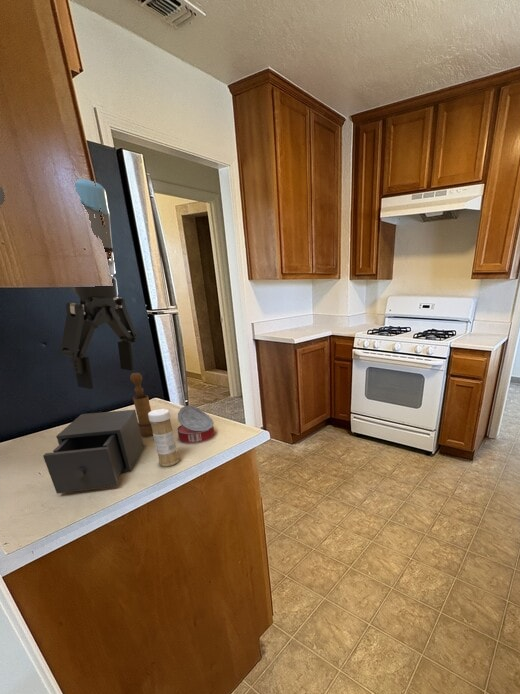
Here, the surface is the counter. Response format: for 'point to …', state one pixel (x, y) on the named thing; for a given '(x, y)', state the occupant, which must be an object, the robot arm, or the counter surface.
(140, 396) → the mortar and pestle
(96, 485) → the pull-out drawer box
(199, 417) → the canned food
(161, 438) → the sprinkles bottle
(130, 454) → the small drawer cabinet
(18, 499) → the counter surface
